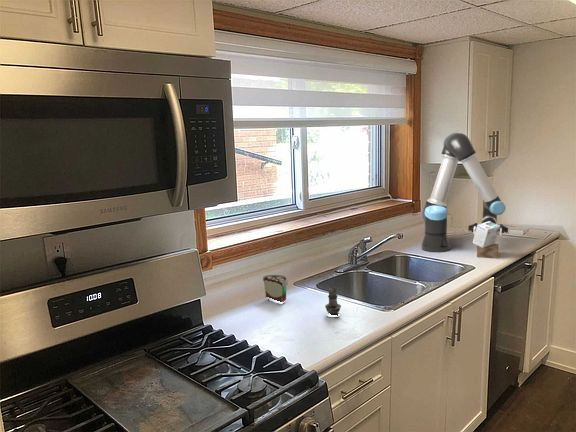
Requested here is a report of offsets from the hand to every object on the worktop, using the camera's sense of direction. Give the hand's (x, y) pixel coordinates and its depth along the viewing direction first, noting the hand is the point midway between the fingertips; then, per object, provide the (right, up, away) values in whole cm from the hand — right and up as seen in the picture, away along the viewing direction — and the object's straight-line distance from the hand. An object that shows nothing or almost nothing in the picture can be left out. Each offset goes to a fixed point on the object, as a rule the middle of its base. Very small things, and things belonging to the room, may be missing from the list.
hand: (487, 232), depth 238 cm
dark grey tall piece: (-85, -29, -64) cm, 110 cm away
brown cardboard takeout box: (+3, -12, +6) cm, 14 cm away
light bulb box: (0, -6, +5) cm, 8 cm away
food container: (-105, -27, -46) cm, 118 cm away
